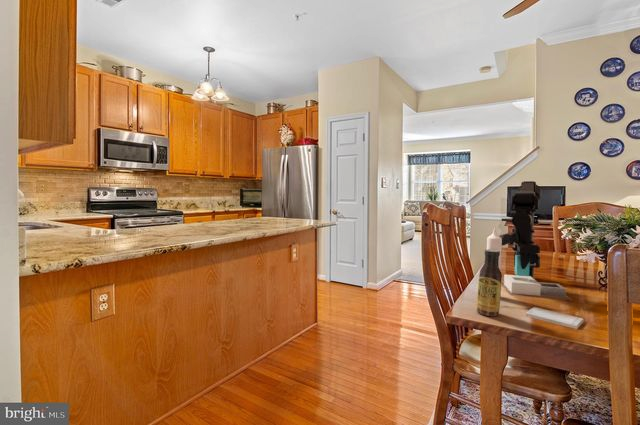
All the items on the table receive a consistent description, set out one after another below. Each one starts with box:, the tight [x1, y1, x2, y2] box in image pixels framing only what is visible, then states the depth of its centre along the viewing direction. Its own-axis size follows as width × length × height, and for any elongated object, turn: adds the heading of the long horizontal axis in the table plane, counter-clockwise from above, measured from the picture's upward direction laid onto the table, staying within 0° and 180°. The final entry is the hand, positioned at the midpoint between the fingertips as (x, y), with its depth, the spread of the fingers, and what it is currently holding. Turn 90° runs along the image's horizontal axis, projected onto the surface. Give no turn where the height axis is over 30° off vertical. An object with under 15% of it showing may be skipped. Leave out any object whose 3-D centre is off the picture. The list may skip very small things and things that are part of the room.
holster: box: [537, 281, 567, 296], centre depth 118 cm, size 7×8×2 cm
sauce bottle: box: [476, 248, 503, 317], centre depth 99 cm, size 7×6×20 cm
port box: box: [503, 274, 541, 296], centre depth 121 cm, size 12×9×4 cm
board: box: [501, 282, 573, 301], centre depth 120 cm, size 16×18×1 cm
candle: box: [486, 228, 503, 272], centre depth 112 cm, size 7×7×25 cm
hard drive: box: [525, 306, 585, 330], centre depth 96 cm, size 2×8×12 cm
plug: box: [514, 255, 530, 276], centre depth 120 cm, size 3×4×7 cm
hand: (521, 267), depth 120 cm, fingers closed on plug, 3 cm apart
